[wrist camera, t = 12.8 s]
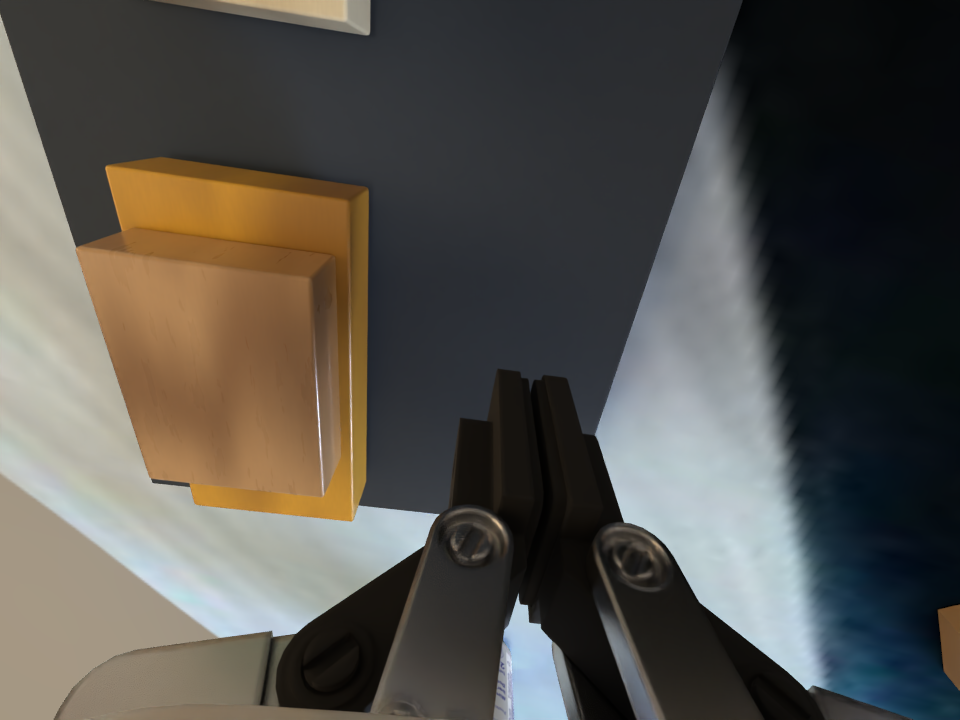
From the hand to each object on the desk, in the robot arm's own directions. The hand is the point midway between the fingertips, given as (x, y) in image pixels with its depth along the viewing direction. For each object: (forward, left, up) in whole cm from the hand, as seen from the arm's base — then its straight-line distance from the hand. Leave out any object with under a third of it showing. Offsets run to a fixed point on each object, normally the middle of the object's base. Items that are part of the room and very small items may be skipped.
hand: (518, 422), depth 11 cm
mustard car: (+1, -4, -1) cm, 5 cm away
